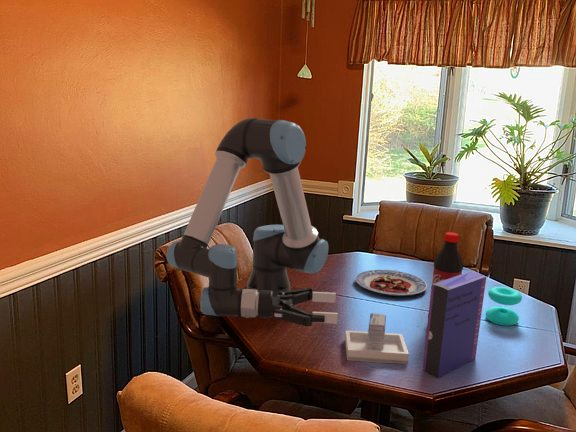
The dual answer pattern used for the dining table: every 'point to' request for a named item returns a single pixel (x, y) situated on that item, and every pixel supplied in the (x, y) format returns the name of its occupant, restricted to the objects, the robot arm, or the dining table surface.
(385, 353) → the tray
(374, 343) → the medicine box
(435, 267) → the cola bottle
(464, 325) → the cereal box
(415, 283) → the ceramic plate
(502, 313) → the donuts
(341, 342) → the dining table surface
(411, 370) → the dining table surface
